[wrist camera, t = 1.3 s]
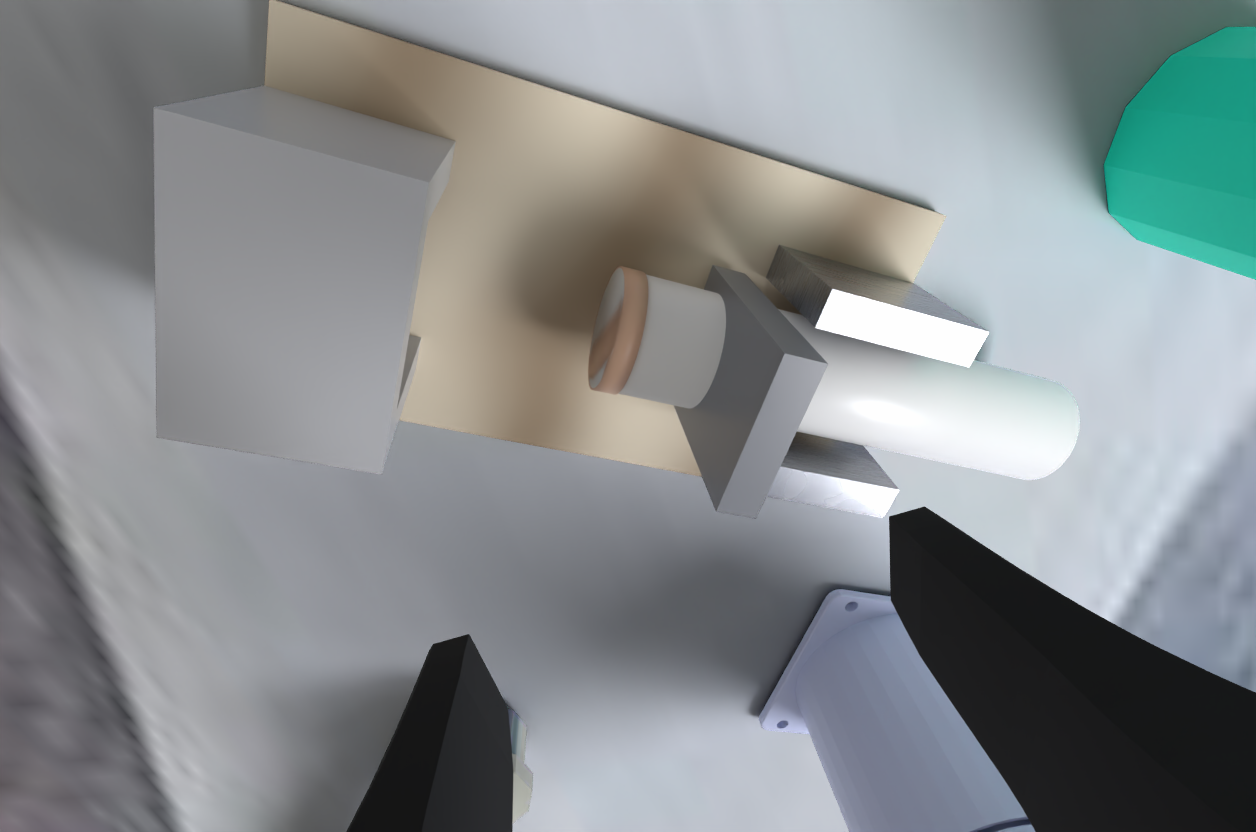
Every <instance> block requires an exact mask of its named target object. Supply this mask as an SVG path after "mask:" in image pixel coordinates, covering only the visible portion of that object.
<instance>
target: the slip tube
mask: <svg viewBox="0 0 1256 832" xmlns="http://www.w3.org/2000/svg"><path fill="white" fill-rule="evenodd" d="M588 382H589V387H590V389H591V390H594V391H599V392H604V393H608V394H613V395H616V394H622V395H627V396H632V397H636V398H641V399H646V400H651V401H655V402H660V403H665V404H669V405H674V408H675V410H676V413H677V415H678V418H679V420H680V423H681V425H682V428H683V430H684V433H685V435H686V438H687V440H688V443H689V445H690V448H691V450H692V453H693V455H694V458H695V460H696V463H697V465H698V468H699V470H700V473H701V475H702V478H703V480H704V483H705V485H706V488H707V490H708V493H709V495H710V497H711V500H712V502H713V505H714V507H715V510H716V512H721V513H727V514H733V515H739V516H744V517H750V518H757V515H758V513H759V511H760V509H761V507H762V505H763V503H764V500H765V498H766V496H767V494H768V492H769V490H770V488H771V486H772V483H773V481H774V479H775V477H776V475H777V473H778V471H779V468H780V466H781V464H782V462H783V460H784V458H785V456H786V453H787V451H788V449H789V447H790V445H791V443H792V441H793V439H794V436H795V434H796V432H802V433H806V434H811V435H816V436H820V437H825V438H830V439H835V440H839V441H844V442H849V443H853V444H858V445H863V446H868V447H872V448H877V449H882V450H886V451H891V452H896V453H901V454H905V455H910V456H915V457H919V458H924V459H929V460H934V461H938V462H943V463H948V464H952V465H957V466H962V467H967V468H971V469H976V470H981V471H985V472H990V473H995V474H1000V475H1004V476H1009V477H1014V478H1019V479H1024V480H1035V479H1040V478H1043V477H1045V476H1048V475H1050V474H1051V473H1053V472H1054V471H1056V470H1057V469H1058V468H1059V467H1060V466H1061V465H1062V464H1063V463H1064V462H1065V461H1066V460H1067V458H1068V457H1069V455H1070V454H1071V452H1072V450H1073V448H1074V446H1075V444H1076V441H1077V438H1078V434H1079V427H1080V415H1079V409H1078V406H1077V403H1076V400H1075V398H1074V397H1073V395H1072V394H1071V392H1070V391H1069V390H1068V389H1067V388H1066V387H1065V386H1063V385H1062V384H1060V383H1058V382H1056V381H1053V380H1049V379H1045V378H1041V377H1038V376H1034V375H1030V374H1026V373H1022V372H1018V371H1015V370H1011V369H1007V368H1003V367H999V366H995V365H992V364H988V363H984V362H980V361H976V360H973V362H972V363H971V365H970V367H966V366H962V365H958V364H954V363H950V362H946V361H942V360H939V359H935V358H931V357H927V356H923V355H919V354H915V353H911V352H907V351H903V350H900V349H896V348H892V347H888V346H884V345H880V344H876V343H872V342H868V341H865V340H861V339H857V338H853V337H849V336H845V335H841V334H837V333H833V332H829V331H826V330H822V329H818V328H815V327H814V326H813V325H812V324H811V323H810V322H809V321H808V320H807V319H806V318H805V317H804V316H803V315H800V314H796V313H792V312H788V311H784V310H780V309H777V308H776V307H775V305H774V304H773V303H772V302H771V301H770V300H769V299H768V298H767V297H766V296H765V295H764V293H763V292H762V291H761V290H760V289H759V288H758V287H757V286H756V285H755V284H754V283H753V282H752V280H751V279H750V278H749V277H748V276H747V275H746V274H745V273H741V272H737V271H734V270H730V269H726V268H723V267H719V266H715V265H712V268H711V271H710V273H709V276H708V279H707V282H706V285H705V287H704V289H700V288H696V287H692V286H688V285H685V284H681V283H677V282H673V281H669V280H665V279H662V278H658V277H654V276H650V275H646V274H645V273H644V272H642V271H639V270H635V269H631V268H627V267H623V266H618V267H617V268H616V269H615V270H614V272H613V273H612V275H611V277H610V279H609V281H608V284H607V286H606V289H605V291H604V294H603V297H602V300H601V303H600V306H599V310H598V314H597V317H596V321H595V326H594V330H593V335H592V341H591V347H590V354H589V363H588Z"/></svg>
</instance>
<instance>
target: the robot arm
mask: <svg viewBox="0 0 1256 832" xmlns="http://www.w3.org/2000/svg"><path fill="white" fill-rule="evenodd" d="M889 530H890V588H891V596H884V595H877V594H871V593H864V592H857V591H850V590H844V589H837V590H834V591H832V592H830V593H829V594H828V595H827V596H826V598H825V599H824V601H823V603H822V605H821V607H820V608H819V610H818V612H817V614H816V616H815V617H814V619H813V621H812V623H811V624H810V626H809V628H808V630H807V632H806V633H805V635H804V637H803V639H802V641H801V642H800V644H799V646H798V648H797V650H796V651H795V653H794V655H793V657H792V658H791V660H790V662H789V664H788V666H787V667H786V669H785V671H784V673H783V675H782V676H781V678H780V680H779V682H778V684H777V685H776V687H775V689H774V691H773V692H772V694H771V696H770V698H769V700H768V701H767V703H766V705H765V707H764V709H763V710H762V712H761V714H760V716H759V721H760V724H761V727H762V728H763V729H765V730H770V731H781V732H792V733H804V734H810V736H811V739H812V741H813V743H814V746H815V748H816V751H817V753H818V756H819V758H820V761H821V763H822V766H823V768H824V771H825V773H826V775H827V778H828V780H829V783H830V785H831V788H832V790H833V793H834V795H835V798H836V800H837V802H838V805H839V807H840V810H841V812H842V815H843V817H844V820H845V822H846V825H847V827H848V829H849V832H1256V693H1255V692H1253V691H1251V690H1248V689H1246V688H1244V687H1241V686H1239V685H1237V684H1235V683H1232V682H1230V681H1228V680H1226V679H1223V678H1221V677H1219V676H1217V675H1215V674H1212V673H1210V672H1208V671H1206V670H1204V669H1202V668H1200V667H1198V666H1196V665H1194V664H1192V663H1189V662H1187V661H1185V660H1183V659H1181V658H1179V657H1177V656H1175V655H1173V654H1171V653H1169V652H1167V651H1165V650H1163V649H1160V648H1158V647H1156V646H1154V645H1152V644H1150V643H1148V642H1147V641H1145V640H1143V639H1141V638H1139V637H1137V636H1135V635H1133V634H1131V633H1129V632H1128V631H1126V630H1124V629H1122V628H1120V627H1118V626H1117V625H1115V624H1113V623H1111V622H1109V621H1107V620H1106V619H1104V618H1102V617H1100V616H1098V615H1097V614H1095V613H1093V612H1091V611H1089V610H1088V609H1086V608H1084V607H1083V606H1081V605H1079V604H1077V603H1076V602H1074V601H1072V600H1070V599H1069V598H1067V597H1065V596H1064V595H1062V594H1060V593H1059V592H1057V591H1055V590H1054V589H1052V588H1050V587H1049V586H1047V585H1046V584H1044V583H1042V582H1041V581H1039V580H1037V579H1036V578H1034V577H1032V576H1031V575H1029V574H1028V573H1026V572H1024V571H1023V570H1021V569H1019V568H1018V567H1016V566H1015V565H1013V564H1012V563H1010V562H1008V561H1007V560H1005V559H1004V558H1002V557H1001V556H999V555H998V554H996V553H994V552H993V551H991V550H990V549H988V548H987V547H985V546H984V545H982V544H981V543H979V542H978V541H976V540H975V539H973V538H972V537H970V536H969V535H967V534H966V533H964V532H963V531H961V530H960V529H958V528H957V527H955V526H954V525H952V524H951V523H949V522H948V521H946V520H945V519H943V518H942V517H940V516H938V515H937V514H935V513H934V512H932V511H931V510H929V509H928V508H926V507H922V508H918V509H914V510H911V511H907V512H904V513H900V514H897V515H893V516H889ZM850 602H851V603H850ZM848 603H849V604H848ZM512 822H513V758H512V746H511V735H510V724H509V714H508V707H507V705H506V703H505V702H504V700H503V698H502V696H501V694H500V692H499V690H498V688H497V686H496V684H495V682H494V681H493V679H492V677H491V675H490V673H489V671H488V669H487V667H486V665H485V663H484V662H483V660H482V658H481V656H480V654H479V652H478V650H477V648H476V646H475V644H474V642H473V641H472V639H471V637H470V635H469V634H468V635H464V636H461V637H457V638H453V639H450V640H446V641H443V642H439V643H436V644H433V645H432V647H431V649H430V650H429V652H428V655H427V657H426V660H425V662H424V665H423V667H422V669H421V672H420V674H419V677H418V679H417V682H416V684H415V686H414V689H413V691H412V694H411V696H410V698H409V701H408V703H407V705H406V708H405V710H404V712H403V715H402V717H401V719H400V722H399V724H398V726H397V728H396V731H395V733H394V735H393V737H392V739H391V742H390V744H389V746H388V748H387V750H386V752H385V755H384V757H383V759H382V761H381V763H380V765H379V768H378V770H377V772H376V774H375V776H374V778H373V780H372V783H371V785H370V787H369V789H368V791H367V793H366V795H365V797H364V799H363V801H362V802H361V804H360V806H359V808H358V810H357V812H356V814H355V816H354V818H353V820H352V822H351V824H350V826H349V828H348V830H347V832H512Z"/></svg>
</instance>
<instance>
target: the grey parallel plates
mask: <svg viewBox="0 0 1256 832" xmlns="http://www.w3.org/2000/svg"><path fill="white" fill-rule="evenodd" d="M766 279H767V280H768V281H769V282H770V283H771V284H772V285H773V286H774V287H775V288H776V289H777V290H778V291H779V292H780V293H781V294H782V295H783V296H784V297H785V298H786V299H787V300H788V301H789V302H790V303H791V304H792V305H793V306H794V307H795V308H796V309H797V310H798V311H799V312H800V313H801V314H802V315H803V316H804V317H805V318H806V319H807V320H808V321H809V322H810V323H811V324H812V325H813V326H814V327H815V328H818V329H822V330H826V331H829V332H833V333H837V334H841V335H845V336H849V337H853V338H857V339H861V340H865V341H868V342H872V343H876V344H880V345H884V346H888V347H892V348H896V349H900V350H903V351H907V352H911V353H915V354H919V355H923V356H927V357H931V358H935V359H939V360H942V361H946V362H950V363H954V364H958V365H962V366H966V367H970V365H971V363H972V362H973V360H974V358H975V356H976V355H977V353H978V351H979V349H980V348H981V346H982V344H983V342H984V341H985V339H986V337H987V335H988V334H989V332H988V331H987V330H985V329H984V328H982V327H981V326H979V325H978V324H976V323H974V322H973V321H971V320H970V319H968V318H967V317H965V316H964V315H962V314H960V313H959V312H957V311H956V310H954V309H953V308H951V307H949V306H948V305H946V304H945V303H943V302H942V301H940V300H939V299H937V298H935V297H934V296H932V295H931V294H929V293H928V292H926V291H925V290H923V289H921V288H920V287H918V286H917V285H915V284H914V283H911V282H907V281H904V280H900V279H897V278H893V277H890V276H886V275H883V274H879V273H876V272H872V271H869V270H866V269H862V268H859V267H855V266H852V265H848V264H845V263H841V262H838V261H834V260H831V259H827V258H824V257H820V256H817V255H813V254H810V253H806V252H803V251H799V250H796V249H792V248H789V247H785V246H782V245H779V246H778V248H777V251H776V253H775V256H774V258H773V261H772V263H771V266H770V268H769V271H768V273H767V276H766ZM898 492H899V489H898V488H897V486H896V485H895V484H894V483H893V482H892V480H891V479H890V478H889V477H888V475H887V474H886V473H885V472H884V471H883V469H882V468H881V467H880V466H879V464H878V463H877V462H876V461H875V460H874V458H873V457H872V456H871V455H870V454H869V452H868V451H867V450H866V449H865V447H864V446H863V445H858V444H853V443H849V442H844V441H839V440H835V439H830V438H825V437H820V436H816V435H811V434H806V433H802V432H796V434H795V436H794V439H793V441H792V443H791V445H790V447H789V449H788V451H787V453H786V456H785V458H784V460H783V462H782V464H781V466H780V468H779V471H778V473H777V475H776V477H775V479H774V481H773V483H772V486H771V488H770V490H769V492H768V494H767V496H766V497H771V498H777V499H782V500H788V501H793V502H799V503H804V504H809V505H815V506H820V507H826V508H831V509H837V510H842V511H848V512H853V513H859V514H864V515H870V516H875V517H881V518H884V516H885V514H886V513H887V511H888V509H889V507H890V506H891V504H892V502H893V500H894V499H895V497H896V495H897V493H898Z"/></svg>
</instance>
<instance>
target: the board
mask: <svg viewBox="0 0 1256 832" xmlns="http://www.w3.org/2000/svg"><path fill="white" fill-rule="evenodd" d="M264 85H265V86H268V87H272V88H275V89H278V90H282V91H285V92H289V93H292V94H296V95H299V96H302V97H306V98H309V99H313V100H316V101H320V102H323V103H327V104H330V105H333V106H337V107H340V108H344V109H347V110H351V111H354V112H357V113H361V114H364V115H368V116H371V117H375V118H378V119H382V120H385V121H388V122H392V123H395V124H399V125H402V126H406V127H409V128H412V129H416V130H419V131H423V132H426V133H430V134H433V135H437V136H440V137H443V138H447V139H450V140H454V141H456V143H455V149H454V154H453V160H452V166H451V172H450V177H449V182H448V184H447V186H446V188H445V190H444V192H443V194H442V196H441V197H440V199H439V201H438V203H437V205H436V207H435V209H434V211H433V213H432V215H431V217H430V219H429V221H428V225H427V231H426V237H425V243H424V249H423V255H422V261H421V267H420V273H419V279H418V286H417V292H416V298H415V304H414V310H413V316H412V322H411V328H410V334H409V335H412V336H417V337H421V343H420V348H419V354H418V360H417V366H416V370H415V373H414V376H413V379H412V382H411V385H410V389H409V392H408V395H407V398H406V401H405V404H404V407H403V410H402V413H401V416H400V419H399V420H400V421H405V422H411V423H416V424H421V425H427V426H432V427H438V428H443V429H448V430H454V431H459V432H464V433H470V434H475V435H481V436H486V437H491V438H497V439H502V440H507V441H513V442H518V443H524V444H529V445H534V446H540V447H545V448H550V449H556V450H561V451H567V452H572V453H577V454H583V455H588V456H593V457H599V458H604V459H610V460H615V461H620V462H626V463H631V464H636V465H642V466H647V467H653V468H658V469H663V470H669V471H674V472H679V473H685V474H690V475H696V476H701V477H702V475H701V473H700V470H699V468H698V465H697V463H696V460H695V458H694V455H693V453H692V450H691V448H690V445H689V443H688V440H687V438H686V435H685V433H684V430H683V428H682V425H681V423H680V420H679V418H678V415H677V413H676V410H675V408H674V405H669V404H665V403H660V402H655V401H651V400H646V399H641V398H636V397H632V396H627V395H622V394H616V395H613V394H608V393H604V392H599V391H594V390H591V389H590V387H589V382H588V363H589V354H590V347H591V341H592V335H593V330H594V326H595V321H596V317H597V314H598V310H599V306H600V303H601V300H602V297H603V294H604V291H605V289H606V286H607V284H608V281H609V279H610V277H611V275H612V273H613V272H614V270H615V269H616V268H617V267H618V266H623V267H627V268H631V269H635V270H639V271H642V272H644V273H645V274H646V275H650V276H654V277H658V278H662V279H665V280H669V281H673V282H677V283H681V284H685V285H688V286H692V287H696V288H700V289H704V287H705V285H706V282H707V279H708V276H709V273H710V271H711V268H712V265H715V266H719V267H723V268H726V269H730V270H734V271H737V272H741V273H745V274H746V275H747V276H748V277H749V278H750V279H751V280H752V282H753V283H754V284H755V285H756V286H757V287H758V288H759V289H760V290H761V291H762V292H763V293H764V295H765V296H766V297H767V298H768V299H769V300H770V301H771V302H772V303H773V304H774V305H775V307H776V308H777V309H780V310H784V311H788V312H792V313H796V314H800V315H802V314H801V313H800V312H799V311H798V310H797V309H796V308H795V307H794V306H793V305H792V304H791V303H790V302H789V301H788V300H787V299H786V298H785V297H784V296H783V295H782V294H781V293H780V292H779V291H778V290H777V289H776V288H775V287H774V286H773V285H772V284H771V283H770V282H769V281H768V280H767V279H766V276H767V273H768V271H769V268H770V266H771V263H772V261H773V258H774V256H775V253H776V251H777V248H778V246H779V245H782V246H785V247H789V248H792V249H796V250H799V251H803V252H806V253H810V254H813V255H817V256H820V257H824V258H827V259H831V260H834V261H838V262H841V263H845V264H848V265H852V266H855V267H859V268H862V269H866V270H869V271H872V272H876V273H879V274H883V275H886V276H890V277H893V278H897V279H900V280H904V281H907V282H911V283H913V282H914V280H915V278H916V276H917V274H918V272H919V270H920V268H921V266H922V264H923V262H924V260H925V258H926V256H927V254H928V252H929V250H930V248H931V246H932V244H933V242H934V240H935V238H936V236H937V234H938V232H939V230H940V228H941V226H942V224H943V222H944V220H945V218H946V216H945V215H943V214H940V213H938V212H935V211H932V210H929V209H926V208H923V207H920V206H917V205H913V204H910V203H907V202H904V201H901V200H898V199H895V198H892V197H889V196H885V195H882V194H879V193H876V192H873V191H870V190H867V189H864V188H860V187H857V186H854V185H851V184H848V183H845V182H842V181H839V180H836V179H832V178H829V177H826V176H823V175H820V174H817V173H814V172H811V171H808V170H804V169H801V168H798V167H795V166H792V165H789V164H786V163H783V162H780V161H776V160H773V159H770V158H767V157H764V156H761V155H758V154H755V153H752V152H748V151H745V150H742V149H739V148H736V147H733V146H730V145H727V144H723V143H720V142H717V141H714V140H711V139H708V138H705V137H702V136H699V135H695V134H692V133H689V132H686V131H683V130H680V129H677V128H674V127H671V126H667V125H664V124H661V123H658V122H655V121H652V120H649V119H646V118H643V117H639V116H636V115H633V114H630V113H627V112H624V111H621V110H618V109H615V108H611V107H608V106H605V105H602V104H599V103H596V102H593V101H590V100H586V99H583V98H580V97H577V96H574V95H571V94H568V93H565V92H562V91H558V90H555V89H552V88H549V87H546V86H543V85H540V84H537V83H534V82H530V81H527V80H524V79H521V78H518V77H515V76H512V75H509V74H506V73H502V72H499V71H496V70H493V69H490V68H487V67H484V66H481V65H478V64H474V63H471V62H468V61H465V60H462V59H459V58H456V57H453V56H449V55H446V54H443V53H440V52H437V51H434V50H431V49H428V48H425V47H421V46H418V45H415V44H412V43H409V42H406V41H403V40H400V39H397V38H393V37H390V36H387V35H384V34H381V33H378V32H375V31H372V30H369V29H365V28H362V27H359V26H356V25H353V24H350V23H347V22H344V21H341V20H337V19H334V18H331V17H328V16H325V15H322V14H319V13H316V12H312V11H309V10H306V9H303V8H300V7H297V6H294V5H291V4H288V3H284V2H281V1H278V0H269V11H268V29H267V47H266V65H265V83H264Z"/></svg>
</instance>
